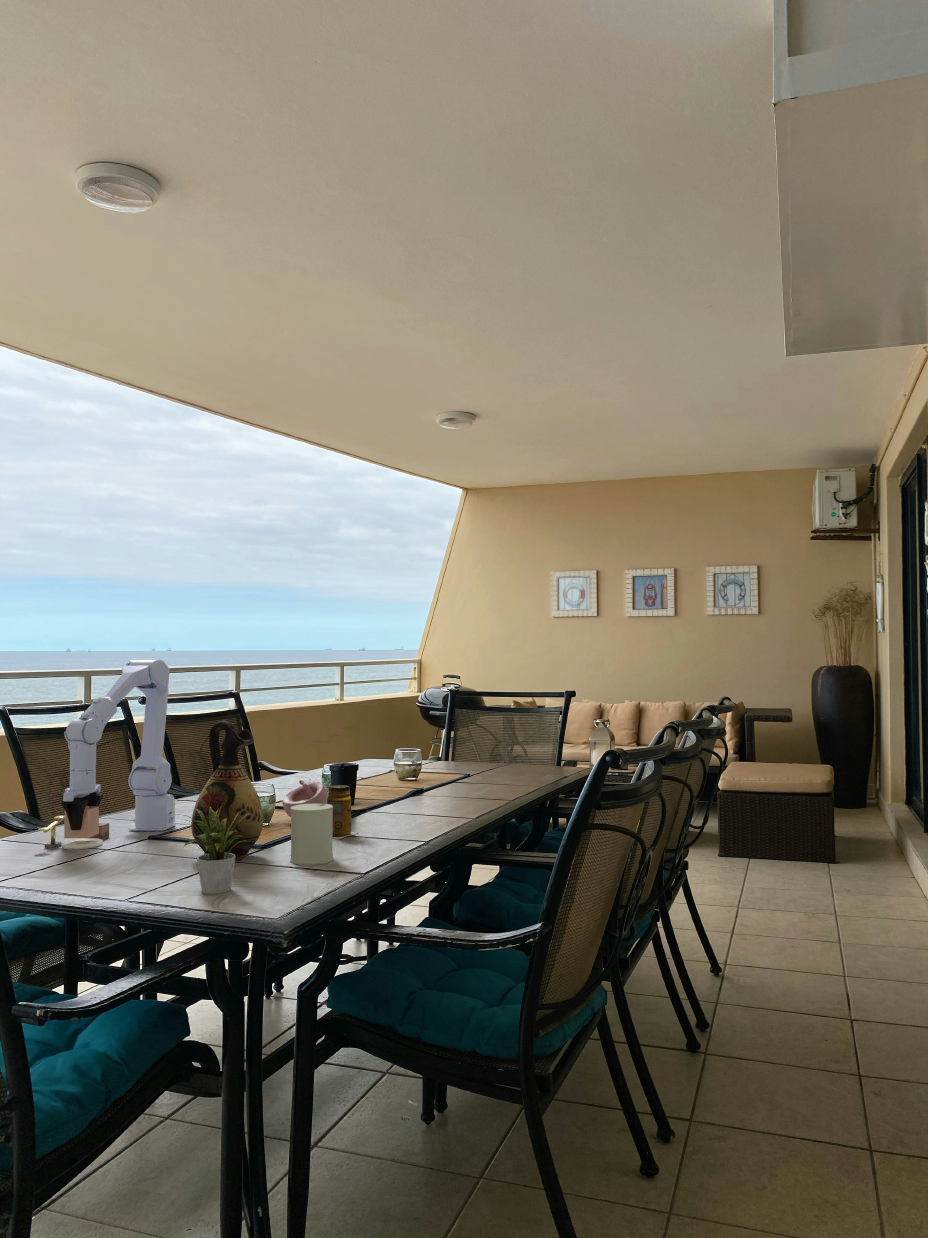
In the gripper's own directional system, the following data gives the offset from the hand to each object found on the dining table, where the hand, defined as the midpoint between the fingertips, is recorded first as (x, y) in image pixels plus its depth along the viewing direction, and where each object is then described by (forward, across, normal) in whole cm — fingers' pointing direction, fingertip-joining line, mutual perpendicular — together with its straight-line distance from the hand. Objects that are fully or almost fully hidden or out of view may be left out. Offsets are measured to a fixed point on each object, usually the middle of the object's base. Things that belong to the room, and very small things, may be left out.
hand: (82, 827), depth 208 cm
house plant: (+4, +40, +44) cm, 60 cm away
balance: (+4, +2, -6) cm, 8 cm away
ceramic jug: (+4, +12, +38) cm, 41 cm away
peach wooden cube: (+2, 0, 0) cm, 2 cm away
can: (+4, +16, +58) cm, 61 cm away
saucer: (+4, 0, 0) cm, 4 cm away
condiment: (+4, -12, +58) cm, 60 cm away
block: (+4, -8, 0) cm, 10 cm away
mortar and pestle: (+4, -30, +46) cm, 56 cm away
